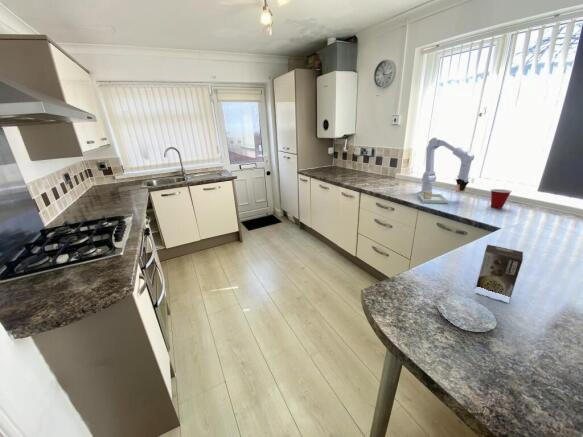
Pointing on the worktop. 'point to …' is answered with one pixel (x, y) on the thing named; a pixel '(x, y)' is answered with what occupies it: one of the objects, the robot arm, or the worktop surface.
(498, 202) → the plastic cup
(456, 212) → the worktop surface
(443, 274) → the worktop surface
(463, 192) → the terracotta block
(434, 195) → the grey tray
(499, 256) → the coffee box
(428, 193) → the oak block
